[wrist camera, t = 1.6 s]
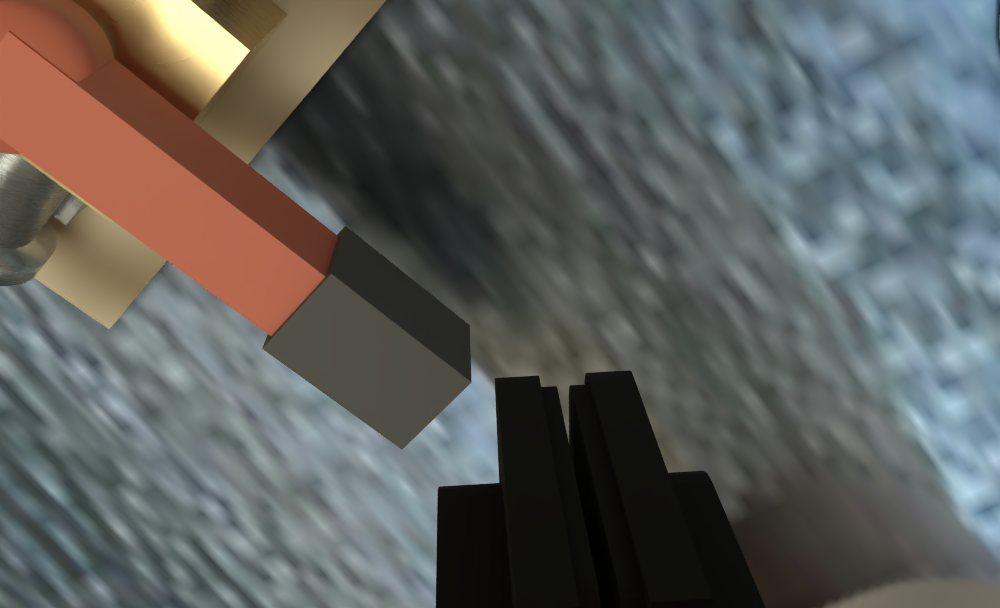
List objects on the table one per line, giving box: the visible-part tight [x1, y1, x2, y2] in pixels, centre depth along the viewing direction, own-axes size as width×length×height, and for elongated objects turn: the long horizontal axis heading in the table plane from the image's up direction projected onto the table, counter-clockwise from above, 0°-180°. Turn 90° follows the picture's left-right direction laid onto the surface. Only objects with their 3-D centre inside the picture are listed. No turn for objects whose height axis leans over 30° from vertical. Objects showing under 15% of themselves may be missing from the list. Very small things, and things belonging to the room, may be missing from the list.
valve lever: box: [0, 0, 471, 449], centre depth 26 cm, size 16×4×4 cm, turn 47°
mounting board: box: [34, 0, 386, 329], centre depth 33 cm, size 22×12×2 cm, turn 137°
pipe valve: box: [0, 0, 288, 286], centre depth 30 cm, size 18×8×8 cm, turn 137°
